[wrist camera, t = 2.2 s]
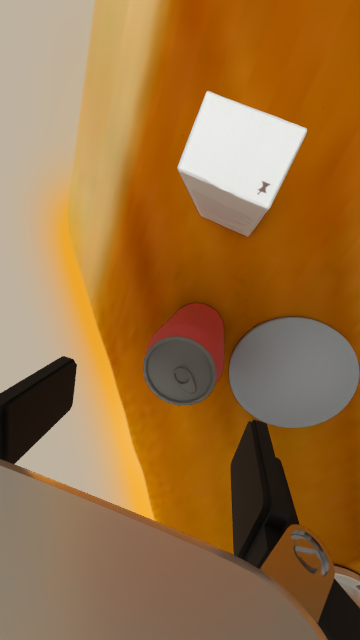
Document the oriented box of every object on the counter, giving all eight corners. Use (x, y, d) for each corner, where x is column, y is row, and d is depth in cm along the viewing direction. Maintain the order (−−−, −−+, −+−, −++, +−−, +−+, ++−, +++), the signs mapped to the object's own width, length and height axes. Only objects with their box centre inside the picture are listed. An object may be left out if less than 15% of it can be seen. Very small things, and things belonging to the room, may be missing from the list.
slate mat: (374, 399, 25) (380, 404, 24) (260, 435, 29) (261, 441, 28) (322, 294, 24) (326, 295, 23) (209, 348, 28) (208, 351, 27)
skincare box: (268, 197, 22) (313, 127, 11) (248, 238, 24) (269, 212, 12) (215, 174, 23) (206, 84, 12) (197, 215, 24) (174, 171, 13)
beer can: (191, 361, 29) (169, 425, 17) (162, 320, 28) (119, 358, 17) (234, 335, 27) (242, 388, 15) (204, 291, 26) (188, 312, 15)
